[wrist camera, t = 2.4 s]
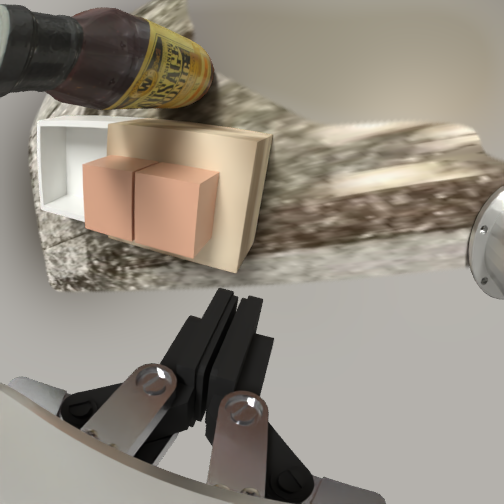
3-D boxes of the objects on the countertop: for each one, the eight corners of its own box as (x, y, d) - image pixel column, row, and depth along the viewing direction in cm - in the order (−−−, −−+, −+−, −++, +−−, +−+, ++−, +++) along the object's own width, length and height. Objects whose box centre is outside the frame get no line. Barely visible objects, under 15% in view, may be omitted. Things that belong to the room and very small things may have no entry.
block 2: (219, 171, 21) (199, 184, 17) (211, 237, 23) (193, 258, 20) (161, 161, 21) (135, 172, 18) (158, 224, 23) (134, 242, 20)
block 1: (158, 161, 21) (132, 171, 18) (155, 223, 24) (131, 241, 20) (111, 154, 22) (82, 164, 19) (111, 212, 24) (85, 228, 21)
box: (147, 118, 26) (119, 122, 22) (142, 214, 31) (117, 231, 27) (66, 115, 27) (37, 120, 23) (66, 196, 32) (41, 209, 28)
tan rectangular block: (272, 134, 24) (257, 141, 19) (253, 241, 29) (236, 273, 24) (147, 118, 26) (108, 123, 21) (142, 214, 31) (108, 237, 25)
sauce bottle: (188, 121, 25) (-16, 174, 8) (143, 83, 24) (-57, 101, 7) (235, 65, 22) (43, 9, 5) (184, 28, 21) (-10, -26, 4)
